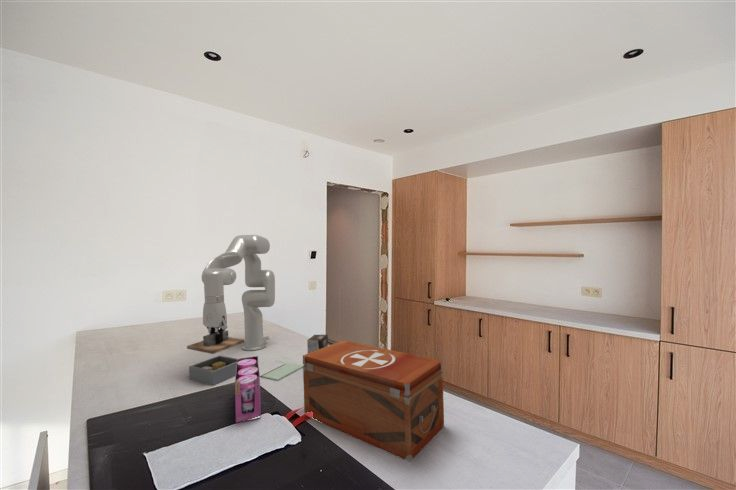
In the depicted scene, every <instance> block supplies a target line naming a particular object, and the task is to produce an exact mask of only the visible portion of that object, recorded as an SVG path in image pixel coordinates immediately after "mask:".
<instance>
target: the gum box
mask: <svg viewBox="0 0 736 490" xmlns="http://www.w3.org/2000/svg"><path fill="white" fill-rule="evenodd" d="M236 359H237V368H236V376H235V378H234V391H235V393H234V394H235V395H234V396H235V398H234V399H235V423H241V421H243V422H246V421H245V420H248V419H252V418H255V417H258V416H261V417H262V414H261V410H262V409H261V377H260V376H261V374H260V367H259V356H250V357H242V358H241V357H240V358H236Z"/></svg>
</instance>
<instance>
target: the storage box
mask: <svg viewBox="0 0 736 490" xmlns="http://www.w3.org/2000/svg"><path fill="white" fill-rule="evenodd" d="M237 359H238V358H235V357H231V356H230V357H229V356H225V355H217V356H214V357H212V358H208V359H206V360H204V361H200V362H198V363H195V364H192V365H190V366H189V365H188V369H189V370H188V374H189V376H188V377H189V381H192V382H197V383H199V384H204V385H208V386H212V387H215V386H216V385H219V384H221V383H224V382H225V381H226V382H227V381H228V380H230V379H232V378H234V377H235V376H236V368H237ZM219 361H220V362H225V363H226V366H224V367H222V368H219V369H217V370H214V371H212V370H208V369H203V368H202V367H205V366H208V367H212V364H214V363H217V362H219Z"/></svg>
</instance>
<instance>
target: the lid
mask: <svg viewBox="0 0 736 490" xmlns="http://www.w3.org/2000/svg"><path fill="white" fill-rule="evenodd" d="M215 334H216V333H212V334H209V333H208V334H206V335H203V336H202V338H203V340H201V341H198V342H194V343H192V344H189V345H187V346H186V349H187V350H191V351H196V352H201V353H206V354H210V355H214V354H216V353H219V352H223V351H225V350H228V349H230V348H233V347H236V346H238V345H241V344H245V338H244V339H243V338H239V337H238V338H237V337H231V336H229V330H226V329H225V330H224V332H223V342H221V343H218V344H216V335H215Z"/></svg>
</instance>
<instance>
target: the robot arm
mask: <svg viewBox="0 0 736 490" xmlns="http://www.w3.org/2000/svg"><path fill="white" fill-rule="evenodd" d="M228 245H229V246H228V247H227V248H226V250H225V252H223V253H221V254H219V255H218V256H216V257H213V259H211V260H210V261H209V262H208V263H206V266H205V267H204V268H203V271H202V274H201V281H202V283H203V290H204V291H203V292H204V303H203V309H202V325H203V326H204V327H206V328H207V330H208V331H207V332H208V335H209V334H212V333H216V334H215V335H216V344H218V343H221V342H223V332H224V330H226V329H227V328H228V325H227V323H228V315H227V308H226V303H225V291H224V290H225V288H224V286H230V285H232V284H234V283H235V282H236V281H237V280H236V279H237V273H236V271H235V270H234V269H233V268H231V267H234V266H236V265H239V264H240V263H241V262H242V261H243V260H244V283H245V286H246V287H248V288H264V289H249V290H245V291H244V292H243V293H242V294H241V303H242V304H241V305H242V308H243V317H244V318H243V319H244V321H243V322H244V340H245V342H244V344H243V345H242V347H241V348H242V350H244V351H249V352H251V351H258V350H261V349H264V348H266V347H267V343H266V341H268V340H270V336H264V327H263V326H264V325H263V322H264V321H263V313H262V311H261V310H260V308H270V307H273V306H274V305H275V302H276V301H275V300H276V277H275V276H276V275H275V274H274V272H273V271H272V270H270V269H262V260H261V258H260V257H259V255H265V254H268V253H269V251H270V247H271V244H270V241H269V240H268V238H267V237H263V236H261V235H258V234H241V235H237V236H235V237H234V238H233V239H232V241H231V242H230V244H228Z"/></svg>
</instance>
